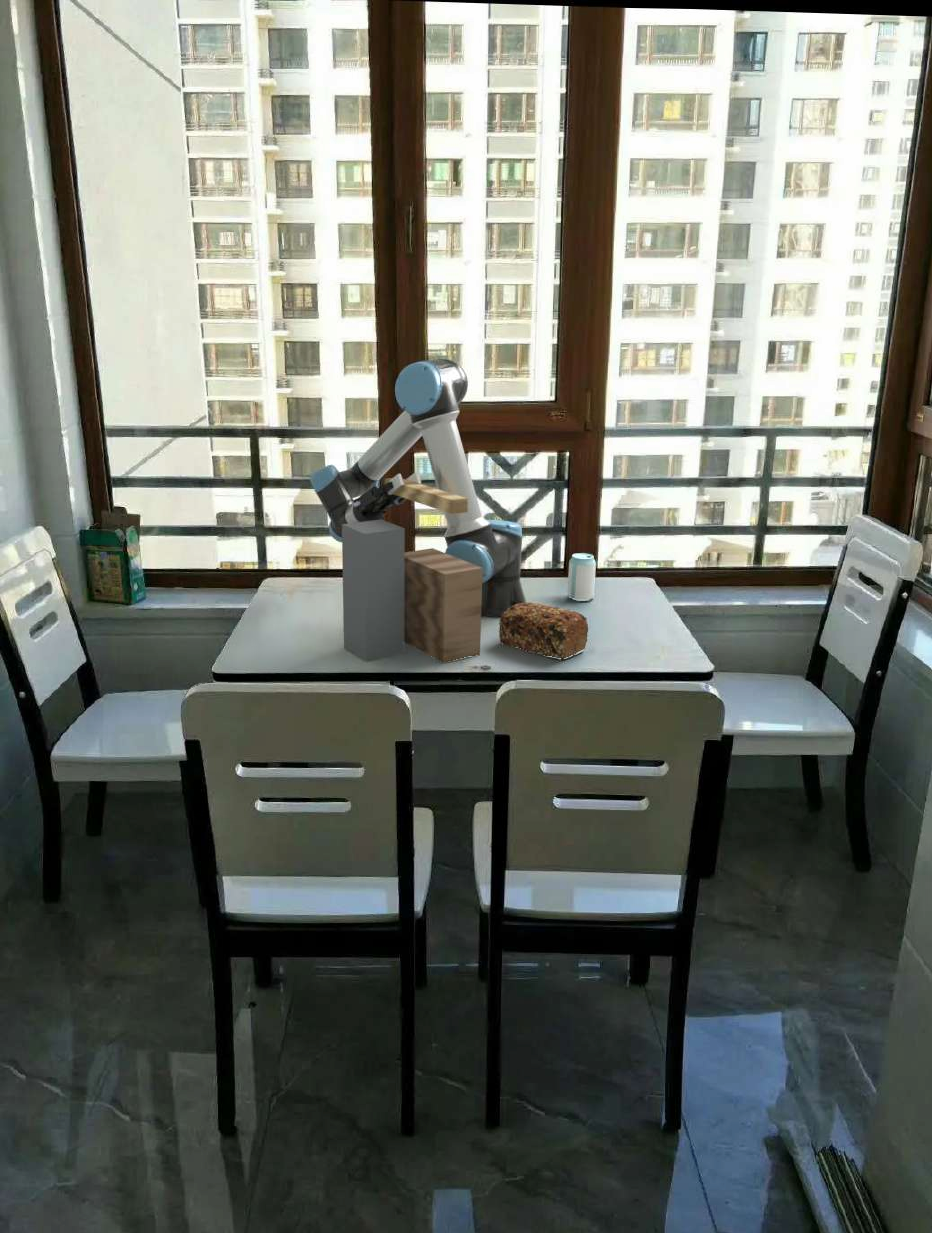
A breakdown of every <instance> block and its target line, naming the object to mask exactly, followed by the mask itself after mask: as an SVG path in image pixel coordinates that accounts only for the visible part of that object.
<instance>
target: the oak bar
mask: <svg viewBox="0 0 932 1233" xmlns="http://www.w3.org/2000/svg"><path fill="white" fill-rule="evenodd" d="M392 478H393V477H392ZM392 478H384V485H385V484H386V483H387V482H388V481H390V480H391V479H392ZM406 479H407V478H406ZM406 479H405V478H404V477H402V480H403V483H404V485H403V486H402V487H400V488H399V489H398V490H396V491H395V492H394V493H392V494H394V495H397V496H400V497H403V498H406V499H407V500H409V501H412V502H416V503H418V504H421V505H424V506H427V507H429V508H432V509H436V510H439V511H441V512H443V513H444V512H447V513H450V514H457V513H465V512H467V511H468V498H465V497H461V496H458V495H455V494H452V493H448V492H445V491H442V490H439V489H437V488H435V487H433V486H428V485H427V484H426V485H425V484H422V483H421V484H419V483H416V482H413V481H409V480H406Z"/></svg>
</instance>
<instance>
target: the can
mask: <svg viewBox="0 0 932 1233" xmlns="http://www.w3.org/2000/svg"><path fill="white" fill-rule="evenodd" d="M594 557H595V556H594V555H593V554H590V553H585V552H581V553H573V554H572V555H571V558H570V559H569V561H568V578H567V580H568V581H567V595H568V596H569V597H571V598H575V599H588V598H591V597H593V596H595V581H596V580H595V579H596V566H597V562H596V560H595V558H594ZM568 596H567V597H568ZM569 597H568V598H569Z"/></svg>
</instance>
